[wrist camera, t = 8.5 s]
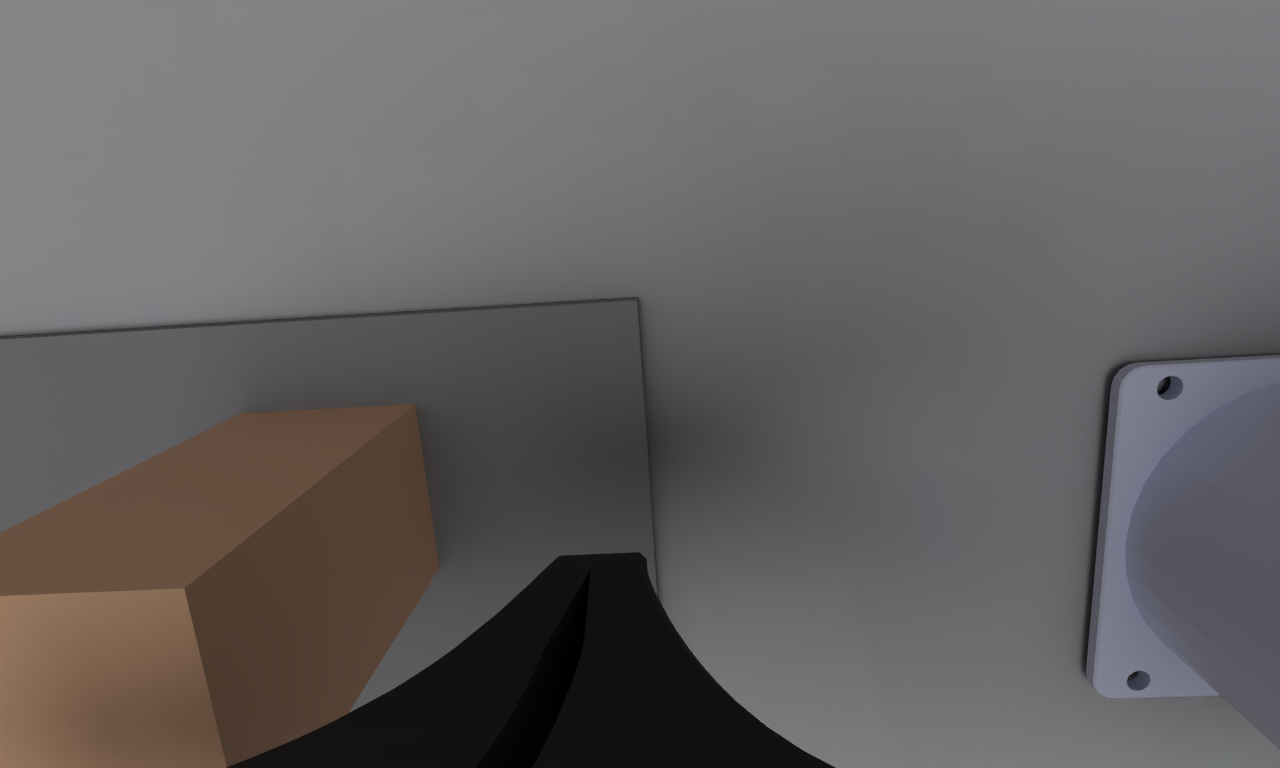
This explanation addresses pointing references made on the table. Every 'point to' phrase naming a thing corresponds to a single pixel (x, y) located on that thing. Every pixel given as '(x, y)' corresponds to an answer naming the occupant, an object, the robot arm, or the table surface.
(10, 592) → the block
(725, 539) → the table surface
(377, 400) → the mat
